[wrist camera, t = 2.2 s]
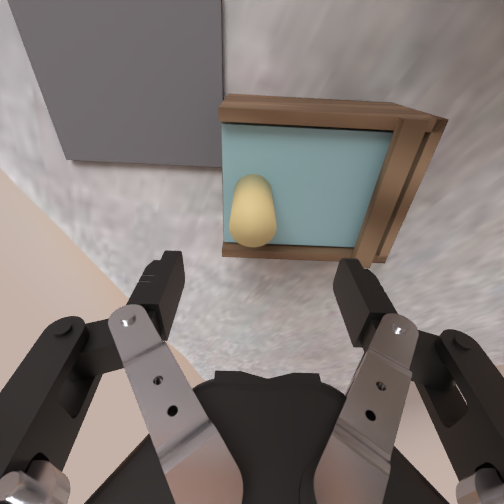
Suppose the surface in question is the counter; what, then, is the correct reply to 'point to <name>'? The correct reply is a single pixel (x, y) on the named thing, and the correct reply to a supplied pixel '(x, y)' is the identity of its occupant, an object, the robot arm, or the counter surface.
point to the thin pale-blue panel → (298, 182)
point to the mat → (129, 77)
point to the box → (389, 181)
